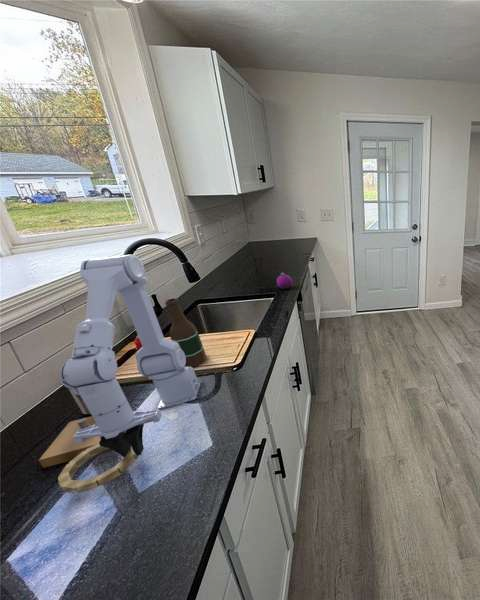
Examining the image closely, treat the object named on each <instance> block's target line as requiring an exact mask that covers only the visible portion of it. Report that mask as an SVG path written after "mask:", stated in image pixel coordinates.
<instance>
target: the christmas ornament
mask: <svg viewBox="0 0 480 600" xmlns="http://www.w3.org/2000/svg"><path fill="white" fill-rule="evenodd" d="M276 285H277V287H278V288H279V289H282V290H288V289H290V288H291V287H292V285H293V279H292V277H291V276H290V275H289V274H285V272H283V271H281V273H280V275H279V276H278V277H277V278H276Z"/></svg>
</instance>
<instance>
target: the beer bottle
mask: <svg viewBox="0 0 480 600" xmlns="http://www.w3.org/2000/svg"><path fill="white" fill-rule="evenodd" d="M165 306H166V307H167V310H168V313H169V317H170V320H171V326H170V329H169V337H170V340H171V341H174V342H177V343H178V344H179V346H180V348H181V349H182V351H183V352H184V354H185V357H186V363H185V366H184V367H192V368H194V367H198V366H200V365H201V364H203V363H205V362H206V359H207V355H206V352H205V351H206V350H205V348H204V346H203V343H202V339H201V337H200V335H199V331H198V329H197V327H196V326H195V324H194V323H193V322H191V321H190V320H188V319H187V317H186V315H185V314H184V311H183V309H182V307H181V305H180V300H179V299H178V298H176V297H175V298H170V299H166V300H165Z"/></svg>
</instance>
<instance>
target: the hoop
mask: <svg viewBox="0 0 480 600" xmlns="http://www.w3.org/2000/svg"><path fill="white" fill-rule="evenodd" d="M106 449H109V448H106V447H102V446H100V445H99V443H98V444H96V445H94V446H92V447H90V448H88V449H86V451H83V452H82V453H80V454H79V455H78V456H77V457H75V458H74V459H73V460H70V461H68V463H67V464H66V465H65V466H64V467H63V469H62V471H61V472H60V474H59V475H58V477H57V481H58V484H59V487H60V489H61V490H62V492H64V493H69V494H82V493H86V492H88V491H91V490H94V489H98V488H100V487H102V486H104V485H106V484H108V483H109V482H111V481H112V480H114V479H116V478H118V477H120V476H121V474H124V472H126V471H127V470H128V469H129V468H130V467H131V466H132V465H133V464H134V463H135V462H136V461H137V460H138V458H139V456H140V455H138V456H137V455H136V454H135V453H134V451H133V449H132V447H130V449H129V451H128V453H127V455H126V456H125V457H122V459H121V460H120V461H118V463H116V464H115V465H114V466H112V467H111V468H109V469H107V470H105V471H104V472H102V473H100V474H98V475H96V476H93V477H89V478H86V479H83V480H77V479H73V477H74V475H75V474H76V473H77V471H78V469H80V468H81V467H82V466H83V465H84V464H86V463H87V462H88V461H89V460H90V459H92V458H93V457H95V456H97V455H99V454H101V453H103V452H105V451H107V450H106ZM104 450H105V451H104ZM109 450H110V449H109Z"/></svg>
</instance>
